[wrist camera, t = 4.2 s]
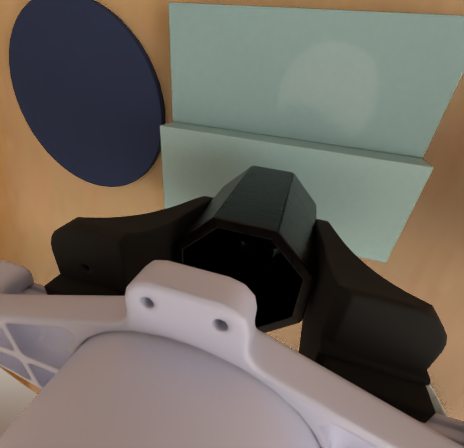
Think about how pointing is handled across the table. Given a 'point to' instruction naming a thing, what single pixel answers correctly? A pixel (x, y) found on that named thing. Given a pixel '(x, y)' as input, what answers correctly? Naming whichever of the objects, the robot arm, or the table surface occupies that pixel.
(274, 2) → the table surface
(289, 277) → the pen cup
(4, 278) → the robot arm
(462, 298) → the table surface
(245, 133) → the shelf riser
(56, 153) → the navy mat
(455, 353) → the table surface
